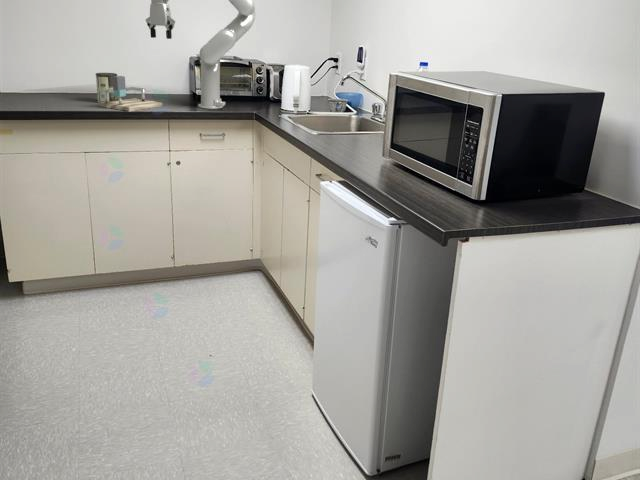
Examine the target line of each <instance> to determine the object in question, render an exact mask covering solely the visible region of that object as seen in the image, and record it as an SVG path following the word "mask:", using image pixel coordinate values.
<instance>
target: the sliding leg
mask: <svg viewBox="0 0 640 480" xmlns="http://www.w3.org/2000/svg"><path fill="white" fill-rule="evenodd" d="M112 78H113V94H114V96H118V100H119V103H122V100H123V99H122V97H127V91H126V90H125V89H126V88H127V86H126V77H125V76H122V75H117V76H113V77H112Z"/></svg>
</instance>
